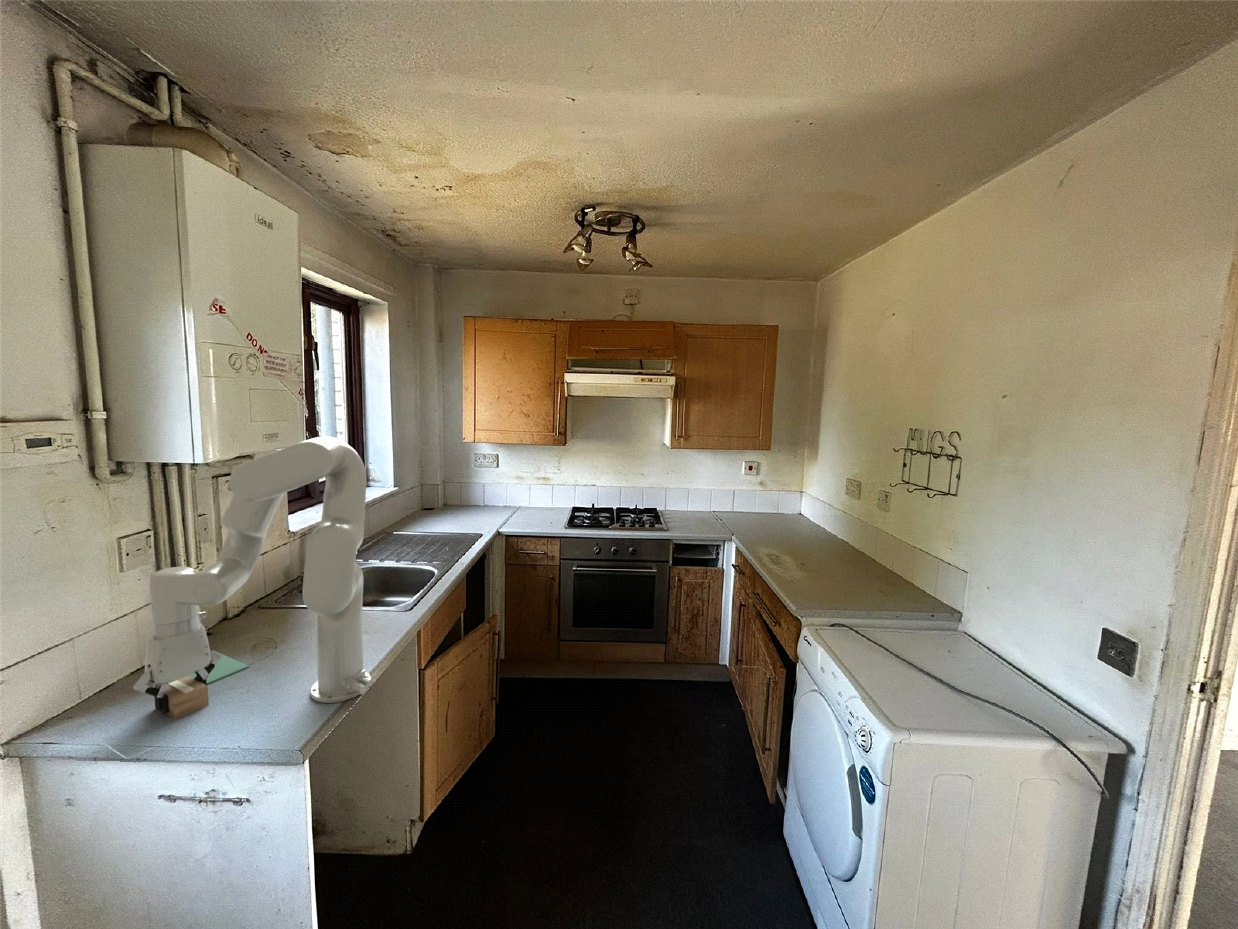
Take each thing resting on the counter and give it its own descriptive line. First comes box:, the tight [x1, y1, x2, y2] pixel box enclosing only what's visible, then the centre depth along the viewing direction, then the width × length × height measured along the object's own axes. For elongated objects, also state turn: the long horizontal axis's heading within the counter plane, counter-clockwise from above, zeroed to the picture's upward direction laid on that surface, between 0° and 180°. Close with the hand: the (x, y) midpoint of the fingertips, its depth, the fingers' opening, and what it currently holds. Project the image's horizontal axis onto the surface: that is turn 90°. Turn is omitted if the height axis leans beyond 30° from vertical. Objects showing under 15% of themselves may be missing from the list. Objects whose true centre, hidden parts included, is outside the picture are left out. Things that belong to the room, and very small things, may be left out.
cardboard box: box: [165, 676, 210, 720], centre depth 109 cm, size 8×6×5 cm
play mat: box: [152, 650, 250, 686], centre depth 123 cm, size 16×14×1 cm
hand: (182, 702), depth 110 cm, fingers closed on cardboard box, 6 cm apart
